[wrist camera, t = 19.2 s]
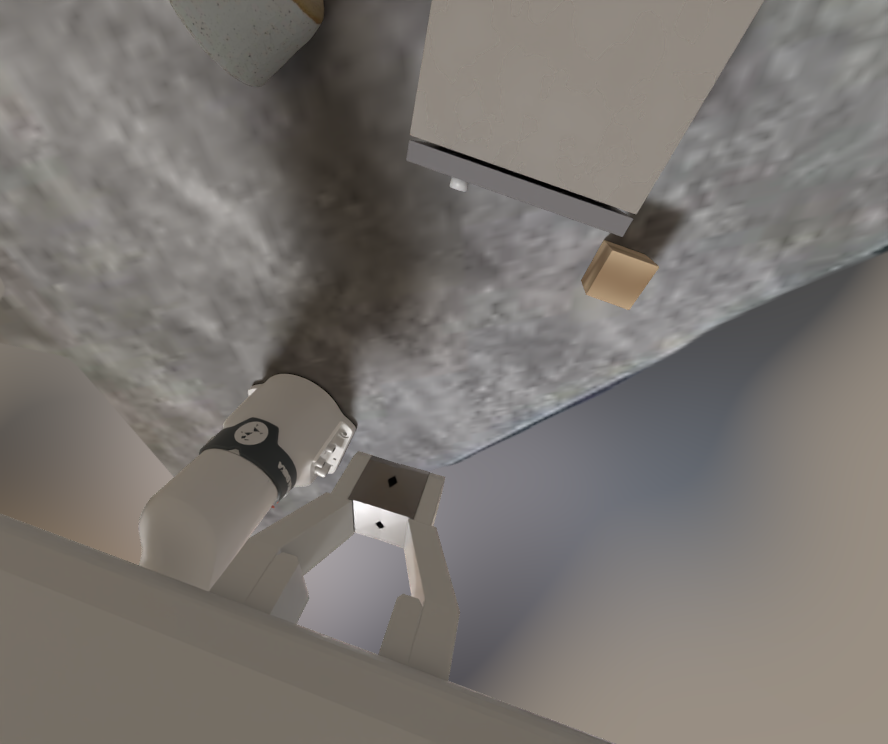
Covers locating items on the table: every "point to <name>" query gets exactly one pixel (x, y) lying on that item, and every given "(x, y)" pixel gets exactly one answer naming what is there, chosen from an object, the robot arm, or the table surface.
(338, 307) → the table surface
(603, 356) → the table surface
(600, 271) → the block
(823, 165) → the table surface
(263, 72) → the ceramic mug
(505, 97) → the housing
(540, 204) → the tray
